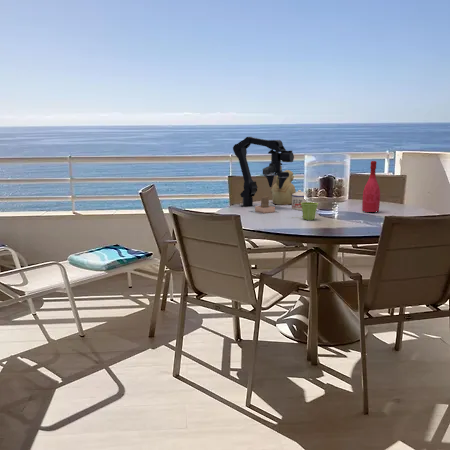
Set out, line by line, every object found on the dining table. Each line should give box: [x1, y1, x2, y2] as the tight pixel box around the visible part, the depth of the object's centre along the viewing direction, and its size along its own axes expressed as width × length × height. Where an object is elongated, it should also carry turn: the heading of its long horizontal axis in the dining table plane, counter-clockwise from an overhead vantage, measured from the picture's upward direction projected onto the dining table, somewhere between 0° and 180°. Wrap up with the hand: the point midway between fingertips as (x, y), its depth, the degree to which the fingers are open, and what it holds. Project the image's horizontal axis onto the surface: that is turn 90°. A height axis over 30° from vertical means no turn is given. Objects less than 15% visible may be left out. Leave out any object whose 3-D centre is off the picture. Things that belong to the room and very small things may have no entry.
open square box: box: [254, 205, 276, 214], centre depth 288 cm, size 8×8×3 cm
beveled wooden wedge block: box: [260, 196, 270, 208], centre depth 287 cm, size 2×4×8 cm, turn 122°
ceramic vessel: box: [270, 165, 297, 206], centre depth 324 cm, size 17×20×25 cm
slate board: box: [248, 209, 278, 215], centre depth 289 cm, size 12×14×1 cm
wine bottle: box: [361, 160, 381, 213], centre depth 295 cm, size 10×10×30 cm
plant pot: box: [301, 201, 319, 221], centre depth 272 cm, size 9×9×9 cm
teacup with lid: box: [291, 189, 307, 211], centre depth 303 cm, size 12×9×12 cm
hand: (275, 187), depth 301 cm, fingers open, 9 cm apart
